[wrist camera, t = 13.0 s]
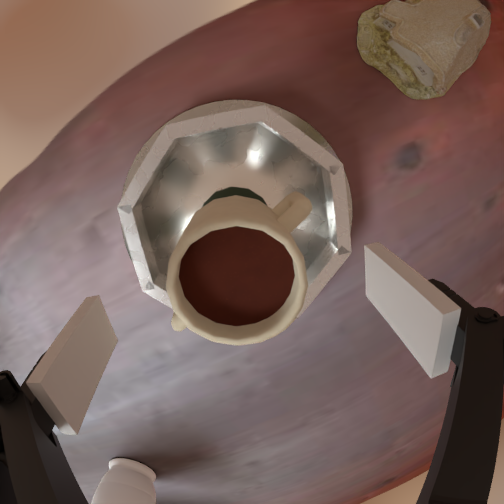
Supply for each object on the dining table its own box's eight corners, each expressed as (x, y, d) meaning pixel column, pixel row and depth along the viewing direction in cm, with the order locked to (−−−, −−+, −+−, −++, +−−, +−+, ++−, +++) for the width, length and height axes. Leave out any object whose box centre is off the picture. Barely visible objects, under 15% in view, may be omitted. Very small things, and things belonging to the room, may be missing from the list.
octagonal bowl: (158, 336, 32) (152, 352, 29) (99, 133, 24) (86, 133, 22) (356, 300, 31) (366, 314, 29) (334, 86, 24) (345, 81, 21)
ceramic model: (413, 123, 26) (481, 124, 16) (335, 33, 22) (381, -8, 13) (478, 55, 23) (539, 45, 13) (415, -23, 20) (466, -57, 10)
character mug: (221, 287, 30) (215, 384, 17) (164, 236, 28) (116, 310, 15) (308, 206, 27) (365, 261, 15) (251, 147, 25) (268, 152, 13)
